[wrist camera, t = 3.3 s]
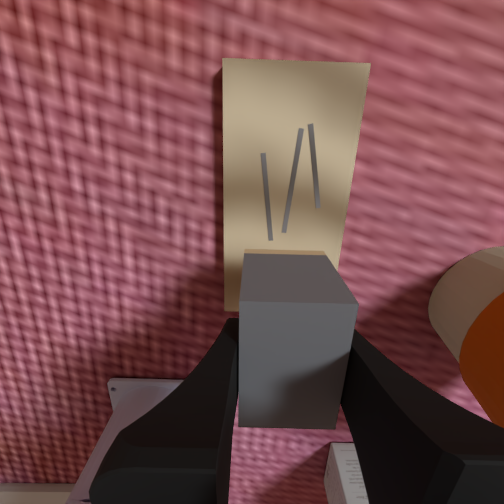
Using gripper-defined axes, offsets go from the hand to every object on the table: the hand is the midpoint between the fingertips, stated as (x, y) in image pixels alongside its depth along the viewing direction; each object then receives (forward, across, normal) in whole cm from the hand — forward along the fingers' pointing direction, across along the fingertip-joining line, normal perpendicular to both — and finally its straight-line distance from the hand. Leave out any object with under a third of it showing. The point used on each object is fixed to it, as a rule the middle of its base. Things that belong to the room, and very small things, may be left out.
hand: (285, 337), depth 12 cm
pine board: (+8, 0, -4) cm, 10 cm away
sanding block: (+3, 0, 0) cm, 3 cm away
